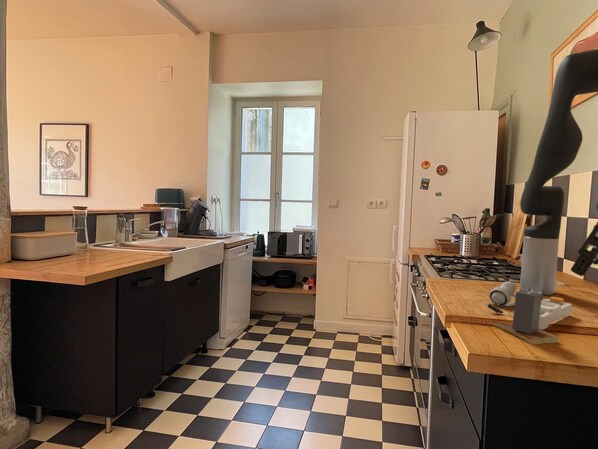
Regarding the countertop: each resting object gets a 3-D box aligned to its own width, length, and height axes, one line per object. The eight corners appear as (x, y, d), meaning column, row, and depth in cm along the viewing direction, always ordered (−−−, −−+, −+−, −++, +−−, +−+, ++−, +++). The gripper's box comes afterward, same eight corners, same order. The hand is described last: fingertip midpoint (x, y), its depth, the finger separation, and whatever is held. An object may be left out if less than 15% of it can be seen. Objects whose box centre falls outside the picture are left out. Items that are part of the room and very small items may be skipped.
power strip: (549, 307, 97) (550, 293, 97) (574, 313, 92) (576, 298, 92) (515, 322, 84) (516, 305, 84) (542, 330, 80) (543, 312, 79)
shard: (491, 327, 82) (492, 320, 82) (520, 326, 84) (520, 318, 84) (530, 347, 72) (531, 338, 72) (562, 345, 73) (563, 336, 73)
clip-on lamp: (524, 333, 86) (547, 303, 98) (528, 310, 84) (550, 282, 96) (474, 315, 95) (500, 290, 106) (476, 294, 93) (502, 270, 104)
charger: (519, 325, 79) (523, 289, 78) (537, 330, 76) (542, 293, 76) (512, 328, 77) (516, 291, 76) (530, 334, 74) (534, 296, 73)
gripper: (620, 179, 69) (575, 249, 77) (597, 188, 61) (549, 266, 68) (669, 195, 64) (616, 269, 72) (652, 208, 56) (594, 289, 63)
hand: (584, 267), depth 70 cm, fingers open, 8 cm apart
